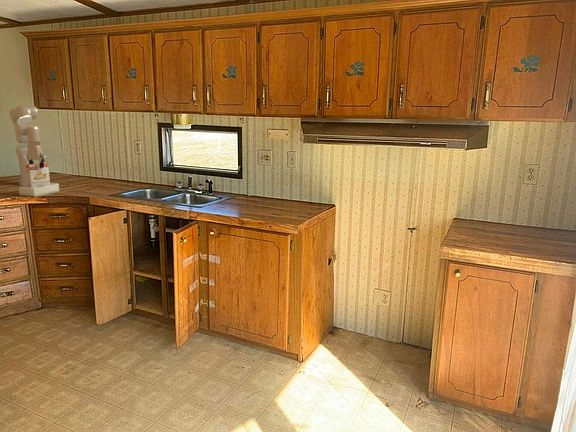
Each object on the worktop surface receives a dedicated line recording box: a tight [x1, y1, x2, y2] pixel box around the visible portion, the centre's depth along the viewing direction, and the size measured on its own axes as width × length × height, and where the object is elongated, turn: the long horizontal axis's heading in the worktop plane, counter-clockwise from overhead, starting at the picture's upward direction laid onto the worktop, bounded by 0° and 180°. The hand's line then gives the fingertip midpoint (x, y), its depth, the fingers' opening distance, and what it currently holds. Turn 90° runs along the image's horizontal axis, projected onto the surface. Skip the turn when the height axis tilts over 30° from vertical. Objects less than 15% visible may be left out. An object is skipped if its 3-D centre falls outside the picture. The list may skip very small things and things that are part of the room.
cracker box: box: [25, 162, 51, 188], centre depth 317 cm, size 14×6×21 cm, turn 148°
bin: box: [18, 182, 60, 198], centre depth 319 cm, size 14×22×6 cm, turn 162°
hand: (36, 167), depth 315 cm, fingers open, 9 cm apart
